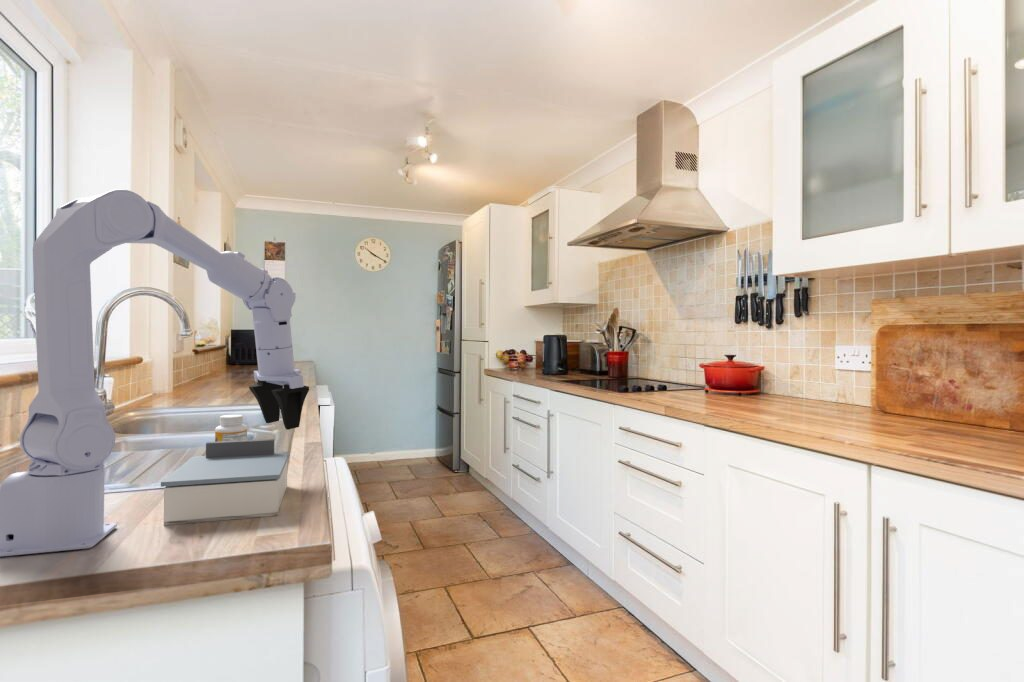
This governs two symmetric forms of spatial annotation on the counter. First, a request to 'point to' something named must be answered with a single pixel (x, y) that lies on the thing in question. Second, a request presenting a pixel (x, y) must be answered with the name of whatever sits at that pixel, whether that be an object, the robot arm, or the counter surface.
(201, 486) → the box
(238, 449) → the lid
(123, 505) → the counter surface
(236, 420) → the supplement bottle
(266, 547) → the counter surface
